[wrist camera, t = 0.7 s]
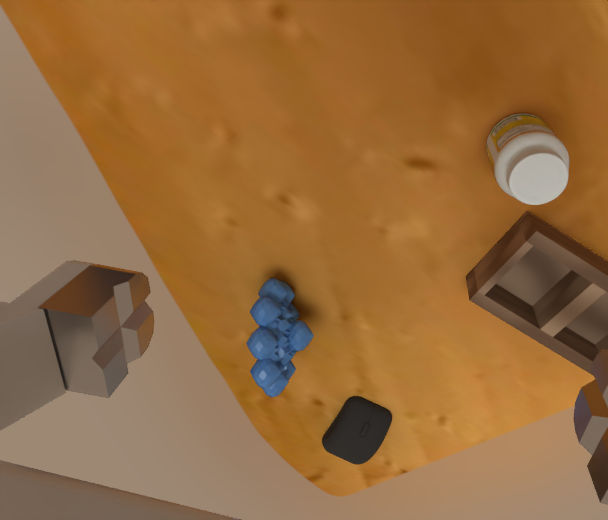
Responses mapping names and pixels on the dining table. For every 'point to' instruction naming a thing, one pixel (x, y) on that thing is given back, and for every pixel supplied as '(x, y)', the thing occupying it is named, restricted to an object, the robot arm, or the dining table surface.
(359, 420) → the computer mouse
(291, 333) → the grapes
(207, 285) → the dining table surface
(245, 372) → the dining table surface
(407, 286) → the dining table surface
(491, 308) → the small wooden cubby shelf
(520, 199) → the supplement bottle
